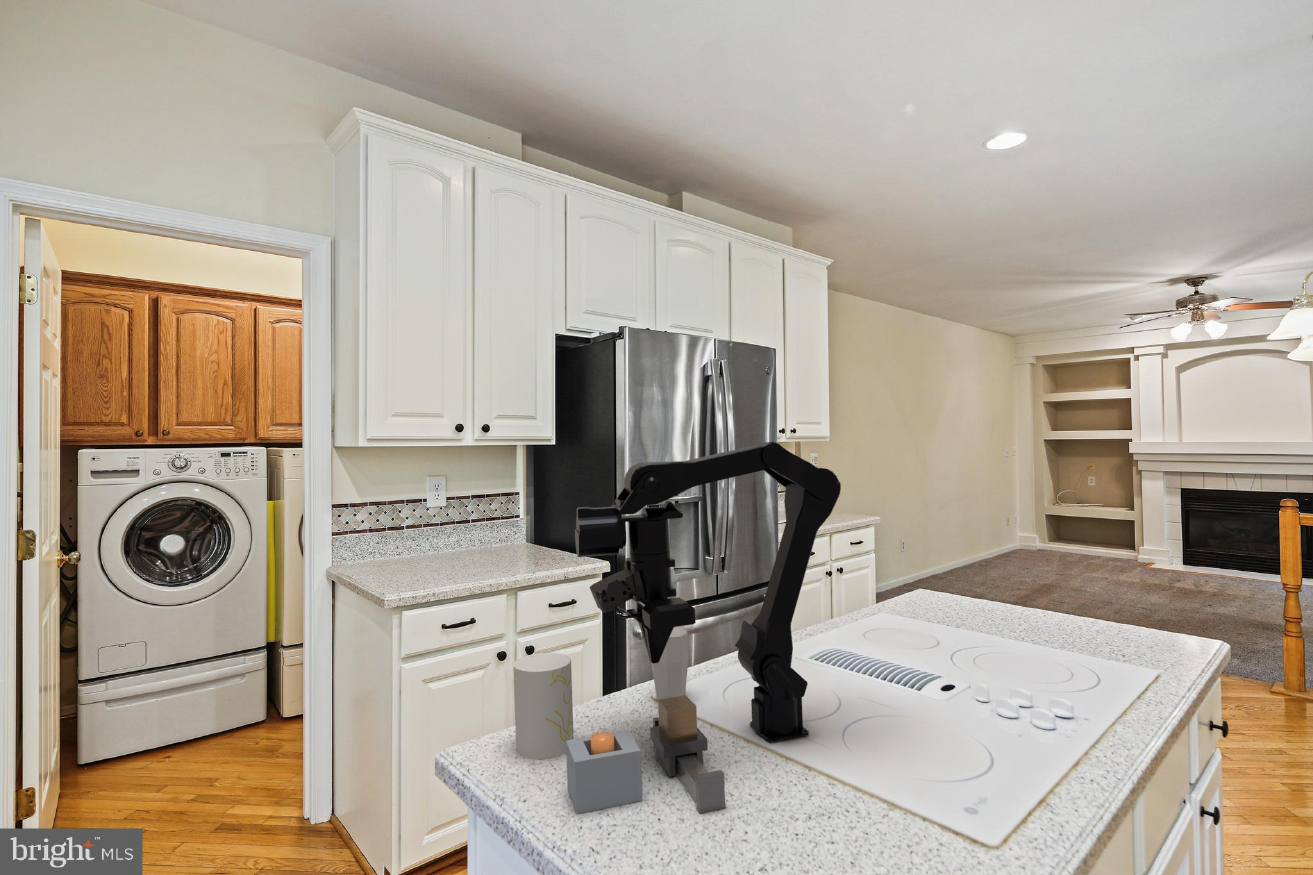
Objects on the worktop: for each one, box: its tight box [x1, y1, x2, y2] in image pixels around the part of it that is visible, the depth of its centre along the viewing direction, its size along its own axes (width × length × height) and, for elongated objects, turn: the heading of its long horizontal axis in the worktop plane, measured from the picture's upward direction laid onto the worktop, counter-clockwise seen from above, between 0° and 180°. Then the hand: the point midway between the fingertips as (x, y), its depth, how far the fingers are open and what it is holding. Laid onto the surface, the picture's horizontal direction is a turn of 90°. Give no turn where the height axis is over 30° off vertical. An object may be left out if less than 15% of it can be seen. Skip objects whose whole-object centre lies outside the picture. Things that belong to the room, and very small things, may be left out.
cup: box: [512, 652, 575, 760], centre depth 95 cm, size 8×8×12 cm
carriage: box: [649, 694, 709, 777], centre depth 88 cm, size 6×6×8 cm
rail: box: [652, 716, 726, 814], centre depth 85 cm, size 3×18×4 cm, turn 17°
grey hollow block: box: [565, 730, 643, 815], centre depth 81 cm, size 8×6×6 cm
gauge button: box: [591, 731, 614, 755], centre depth 81 cm, size 3×3×4 cm
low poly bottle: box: [650, 567, 689, 702], centre depth 110 cm, size 6×6×22 cm
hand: (654, 662), depth 93 cm, fingers closed
